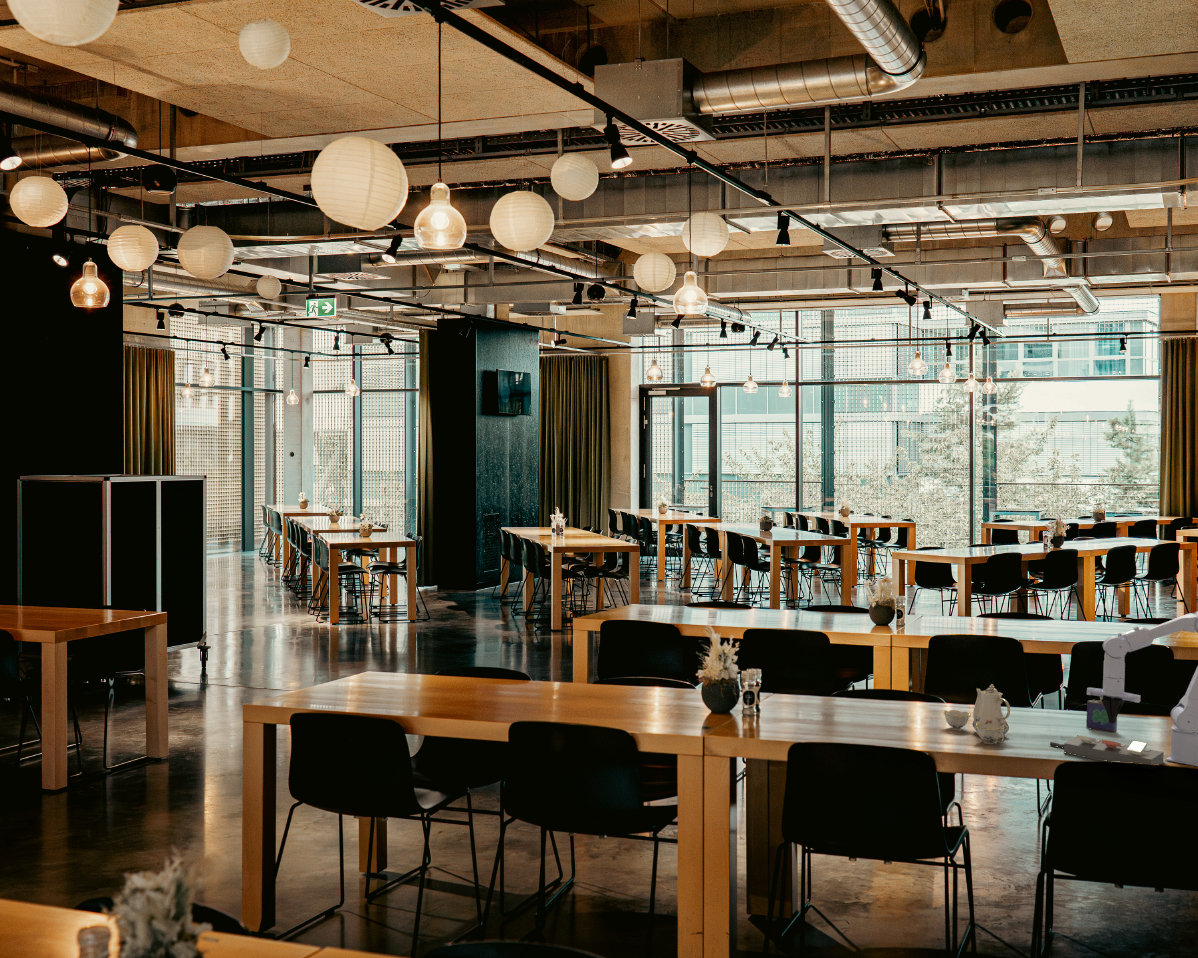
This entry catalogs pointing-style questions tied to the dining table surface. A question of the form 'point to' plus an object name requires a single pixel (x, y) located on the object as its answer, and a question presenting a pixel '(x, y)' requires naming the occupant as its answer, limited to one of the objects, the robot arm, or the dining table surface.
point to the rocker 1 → (1086, 739)
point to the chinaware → (983, 716)
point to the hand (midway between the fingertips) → (1112, 722)
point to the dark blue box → (1099, 717)
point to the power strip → (1110, 752)
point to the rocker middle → (1111, 743)
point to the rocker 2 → (1136, 747)
